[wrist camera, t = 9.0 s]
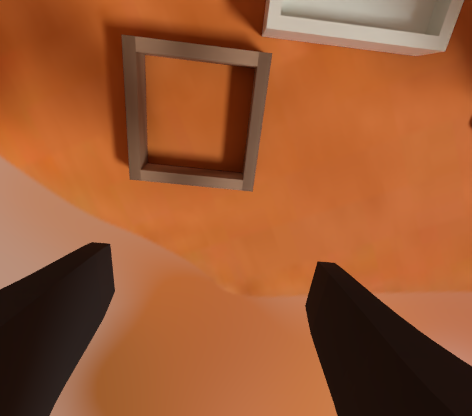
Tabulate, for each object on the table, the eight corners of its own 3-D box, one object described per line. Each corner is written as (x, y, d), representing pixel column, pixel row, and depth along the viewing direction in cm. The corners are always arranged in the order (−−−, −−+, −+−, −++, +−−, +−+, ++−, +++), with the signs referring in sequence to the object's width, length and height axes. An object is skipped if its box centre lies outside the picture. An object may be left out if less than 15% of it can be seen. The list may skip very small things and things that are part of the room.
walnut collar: (268, 56, 16) (272, 53, 14) (250, 183, 19) (252, 191, 18) (132, 39, 15) (121, 34, 14) (137, 172, 19) (129, 179, 17)
